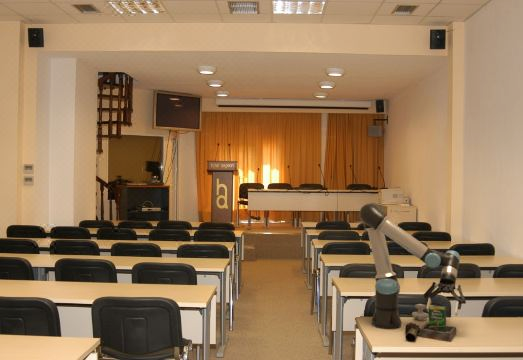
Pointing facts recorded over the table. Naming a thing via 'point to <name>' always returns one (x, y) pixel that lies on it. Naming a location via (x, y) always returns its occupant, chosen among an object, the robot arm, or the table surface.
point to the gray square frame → (437, 333)
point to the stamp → (420, 312)
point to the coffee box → (437, 318)
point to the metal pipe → (411, 332)
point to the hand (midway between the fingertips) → (441, 312)
